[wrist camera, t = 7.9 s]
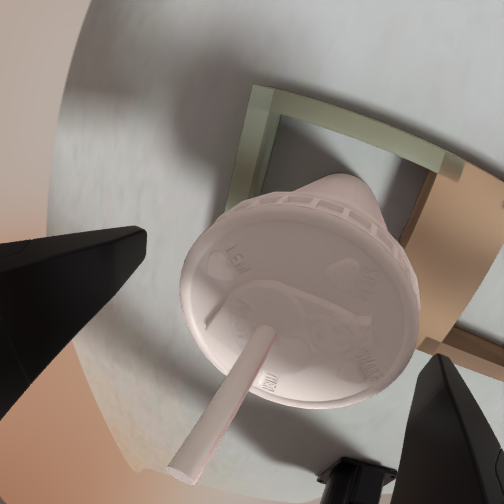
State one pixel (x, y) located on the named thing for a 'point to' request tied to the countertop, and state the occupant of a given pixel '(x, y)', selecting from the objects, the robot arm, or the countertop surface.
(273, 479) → the countertop surface
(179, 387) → the countertop surface
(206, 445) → the smoothie
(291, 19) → the countertop surface
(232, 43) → the countertop surface
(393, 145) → the caddy
